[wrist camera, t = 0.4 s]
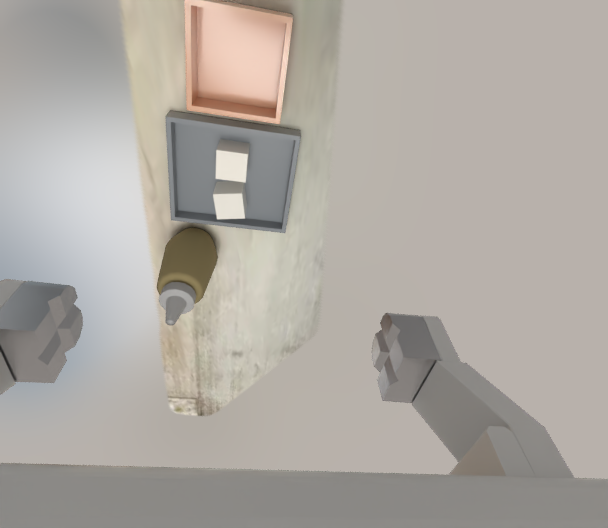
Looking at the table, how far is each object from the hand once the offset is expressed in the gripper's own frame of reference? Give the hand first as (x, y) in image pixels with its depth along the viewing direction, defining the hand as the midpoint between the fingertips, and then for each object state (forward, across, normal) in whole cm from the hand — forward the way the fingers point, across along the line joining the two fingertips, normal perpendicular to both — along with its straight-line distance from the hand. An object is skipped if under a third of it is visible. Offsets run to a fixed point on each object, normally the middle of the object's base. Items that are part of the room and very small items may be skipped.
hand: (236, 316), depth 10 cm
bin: (+45, +4, +1) cm, 45 cm away
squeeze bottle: (+45, +9, +29) cm, 55 cm away
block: (+44, +4, +19) cm, 49 cm away
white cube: (+44, +4, +13) cm, 46 cm away
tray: (+45, +4, +16) cm, 48 cm away
